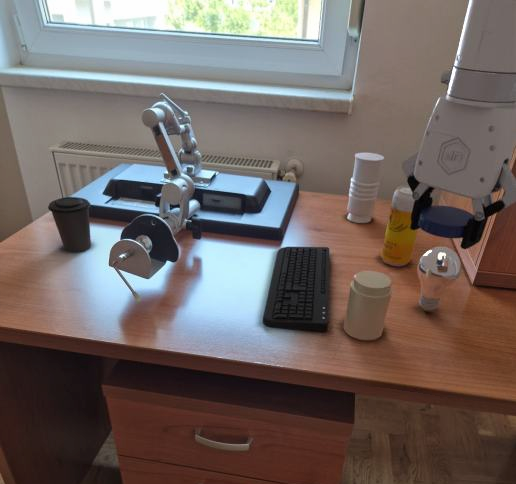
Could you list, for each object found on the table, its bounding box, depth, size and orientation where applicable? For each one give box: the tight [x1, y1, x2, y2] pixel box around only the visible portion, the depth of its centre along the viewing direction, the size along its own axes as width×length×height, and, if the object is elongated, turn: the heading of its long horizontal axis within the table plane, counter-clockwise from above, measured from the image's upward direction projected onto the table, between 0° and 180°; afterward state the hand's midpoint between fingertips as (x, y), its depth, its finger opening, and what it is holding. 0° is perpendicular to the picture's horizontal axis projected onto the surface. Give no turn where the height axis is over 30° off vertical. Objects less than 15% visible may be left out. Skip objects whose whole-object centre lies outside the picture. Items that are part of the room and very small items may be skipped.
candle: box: [346, 152, 385, 224], centre depth 115 cm, size 7×7×15 cm
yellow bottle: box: [380, 185, 419, 267], centre depth 96 cm, size 6×6×15 cm
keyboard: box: [262, 246, 330, 333], centre depth 90 cm, size 30×11×2 cm, turn 173°
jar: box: [343, 270, 393, 341], centre depth 76 cm, size 6×6×9 cm
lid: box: [418, 205, 474, 239], centre depth 63 cm, size 7×7×2 cm
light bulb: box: [416, 245, 462, 313], centre depth 81 cm, size 7×7×12 cm
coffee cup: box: [47, 196, 92, 253], centre depth 98 cm, size 8×8×10 cm
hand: (442, 235), depth 64 cm, fingers closed on lid, 7 cm apart
